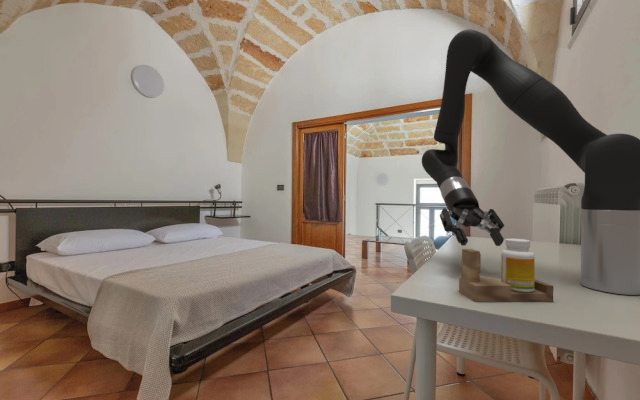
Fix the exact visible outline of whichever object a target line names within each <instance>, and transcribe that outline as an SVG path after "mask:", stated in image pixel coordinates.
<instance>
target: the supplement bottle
mask: <svg viewBox="0 0 640 400" xmlns="http://www.w3.org/2000/svg"><path fill="white" fill-rule="evenodd" d="M504 244H505V247H506V249H505V248H504V249H502V251H501V255H500V256H501V259H500V261H501V264H500V266H501V270H500V272H501V275H500V276H501V277H500V279H501V280H500V281H501V282H504V283H506V284H508V285H511V290H513V291H517V292H533V291H534V289H535V280H536V279H535V278H536V277H535V262H536V261H535V254H534V253H533V252H532V251H530V250H529V249H530V248H531V241H530V240H529V239H522V238H505V243H504Z"/></svg>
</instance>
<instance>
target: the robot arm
mask: <svg viewBox="0 0 640 400" xmlns="http://www.w3.org/2000/svg"><path fill="white" fill-rule="evenodd" d="M445 61H446V62H445V72H444V83H443V89H442V90H443V91H442V95H441V96H442V98H441V102H440V103H441V104H440V108H439V112H438V116H437V121H436V125H435V129H434V134H433V140H434V141H436V142H437V143H440V144H443V145H444V149H437V148H436V149H435V148H433V149H427V150H426V151H424V153H423V154H422V155H421V156H422V157H421V165H422V168H423V170H424V171H425V172H426V174H428V175H429V177H430V178H431V179H432V180H433V181H435V183H436V184H437V187H438V189H439V191H440V194H441V197H442V199H443V201H444V204H445V206H446V208H445V207H443V208H442V210H441V212H440V213H439V217H440V221H441V224H442V226H443V229H444V231H445V232H446V233H450V232H452V234H453V235H455V236H454V237H455V239H456V240H457V242H458V243H459V244H460V245H461V246H462V247H463V246H466V245H467V243H468V242H469V239H468V237H467V234H466V233H465V231H464V229H463V228H462V226H464V227H465V228H468V227H475V228H479V229H480V230H481V231H485V232H487V233H489V236H490V238H491V240H492V242H493V243H494V244H495V246H496V247H501V245H502V244H503V243H504V242H505V239H504V237H503V235H502V233H501V230H502V229H504V227H505V224H504V222H503V221H502V220H501V217H500V216H499V215H498V214H497V212H496V211H495V210H494V209H493V208H489V210H485V211H484V210H482V209H481V208H480V204H479V200H478V199H477V197H476V195H475V193H474V192H473V191H472V189H471V187H470V185H469V184H468V182H467V181H466V180H465V178H464V176H463V175H462V174H461V173H462V172H460V170H459V169H458V168H457V165H458V162H459V151H458V149H459V147H458V146H459V135H460V132H461V129H462V125H463V121H464V118H465V111H466V110H465V108H466V103H465V102H466V91H467V84H468V81H469V76H470V74H471V73H473V74H475V75H476V76H478V77H479V78H480V79H482V80H484V81H485V82H486V83H487V84H488V85H490V87H491V88H492V89H493V91H494V93H495V94H496V96H497V97H498V98H499V99H500V101H501V102H502V103H503V104H504V105H505V106H506V108H508V109H509V110H510V111H511V112H512V113H513V114H514V115H516V116H518V118H520V119H521V120H523V121H524V122H525V123H526V124H528V125H529V126H530V127H532V128H533V129H535V130H536V131H537V132H538V133H540V134H542V135H543V136H544V137H546V138H547V139H549V140H550V141H551V142H553V143H554V144H556V146H557V147H559V148H560V149H561V150H562V151H563V152H564V153H565V154H566V155H567V156H568V157H569V159H571V160H572V161H573V163H574V164H576V166H577V167H578V168H579V169H580V170H581V171H582V172H583V173H584V189H583V193H582V197H581V199H580V200H581V201H580V207H581V208H580V209H581V210H580V223H581V224H580V285H582V286H584V287H585V288H589V289H592V290H596V291H601V292H604V293H605V292H606V293H610V294H616V295H617V294H618V295H624V296H625V295H626V296H628V295H629V296H638V295H640V138H638V137H637V136H634V135H632V134H630V133H629V134H627V133H612V134H606V133H605V132H603V131H602V130H600V129H599V128H597V127H595V126H594V125H592V124H591V123H589V122H588V121H587V120H586V119H585V118H584V117H583V115H581V114H580V112H579V111H578V110H577V108H576V107H575V105H574V104H573V103H572V101H571V100H570V99H569V98H568V96H567V95H566V94H565V93H564V92H563V91H562V90H561V89H560V88H558V86H556V85H554V83H552V82H551V81H549V80H548V79H547V78H545V77H544V76H542V75H540V74H539V73H537V72H536V71H534V70H532V69H531V68H529V67H527V66H526V65H524V64H522V63H520V62H518V61H516V60H514V59H512V58H511V57H510V56H509V55H508V54H506V53H505V52H504V51H503V50H502V49H501V47H499V46H498V45H497V44H496V43H495V42H494V41H493V40H492V39H491V38H490V37H489V36H488V35H487V34H485V33H483V32H481V31H479V30H475V29H472V28H470V29H469V28H468V29H463V30H461V31H459V32H458V33H456V34H455V35H454V37H452V39H451V40H450V42H449V44H448V47H447V53H446V60H445ZM451 218H452V219H453V220H454V221H456V222H455V224H453V221H452V219H451ZM482 221H483V224H482Z"/></svg>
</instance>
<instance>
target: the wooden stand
mask: <svg viewBox="0 0 640 400" xmlns="http://www.w3.org/2000/svg"><path fill="white" fill-rule="evenodd" d="M481 259H482V258H481V251H480V250H475V249H473V248H462V249H461V276H459V277H458V279H459V281H458V292H459V293H460V294H462V295H463V296H466V297H467V298H469V299H470V300H471V301H474V302H475V303H481V302H482V303H492V302H493V303H496V302H497V303H501V302H502V303H506V302H507V303H518V302H519V303H525V302H527V303H529V302H530V303H534V302H536V303H539V302H540V303H545V302H546V303H553V302H554V285H551V284H549V283H547V282H543V281H540V280H538V279H535V289H534V291H533V292H517V291H513V290H511V285H508V284H506V283H504V282H501V280H499V279H496V278H494V277H491V276H490V277H489V276H488V277H487V276H484V277H483V276H482V277H481Z"/></svg>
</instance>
